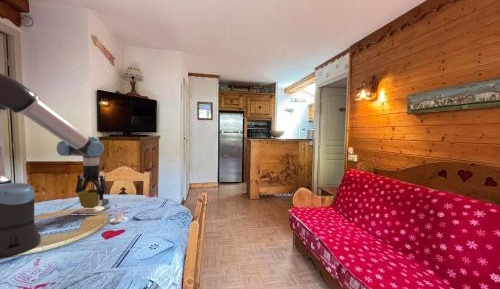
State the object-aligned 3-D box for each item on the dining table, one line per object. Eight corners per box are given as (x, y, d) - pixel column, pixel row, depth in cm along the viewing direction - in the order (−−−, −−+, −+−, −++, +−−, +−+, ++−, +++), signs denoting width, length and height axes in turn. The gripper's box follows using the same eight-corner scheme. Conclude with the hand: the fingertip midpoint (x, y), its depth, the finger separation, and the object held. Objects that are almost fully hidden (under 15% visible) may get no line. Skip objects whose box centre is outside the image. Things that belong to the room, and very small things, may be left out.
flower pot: (93, 209, 124) (93, 193, 124) (77, 209, 124) (77, 192, 124) (104, 204, 133) (104, 189, 133) (89, 204, 133) (89, 188, 133)
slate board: (95, 215, 122) (95, 213, 122) (70, 215, 122) (70, 213, 122) (110, 208, 135) (110, 206, 135) (87, 207, 135) (87, 205, 135)
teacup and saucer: (118, 225, 111) (118, 216, 111) (104, 223, 113) (104, 215, 112) (131, 218, 120) (131, 211, 119) (118, 217, 121) (118, 209, 121)
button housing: (101, 207, 137) (101, 202, 137) (89, 206, 137) (89, 201, 136) (108, 203, 144) (108, 198, 144) (97, 203, 144) (97, 198, 143)
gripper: (114, 164, 132) (114, 204, 132) (76, 163, 131) (77, 203, 132) (106, 166, 124) (106, 208, 125) (66, 165, 124) (66, 207, 125)
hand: (91, 205), depth 128 cm, fingers closed on flower pot, 8 cm apart
